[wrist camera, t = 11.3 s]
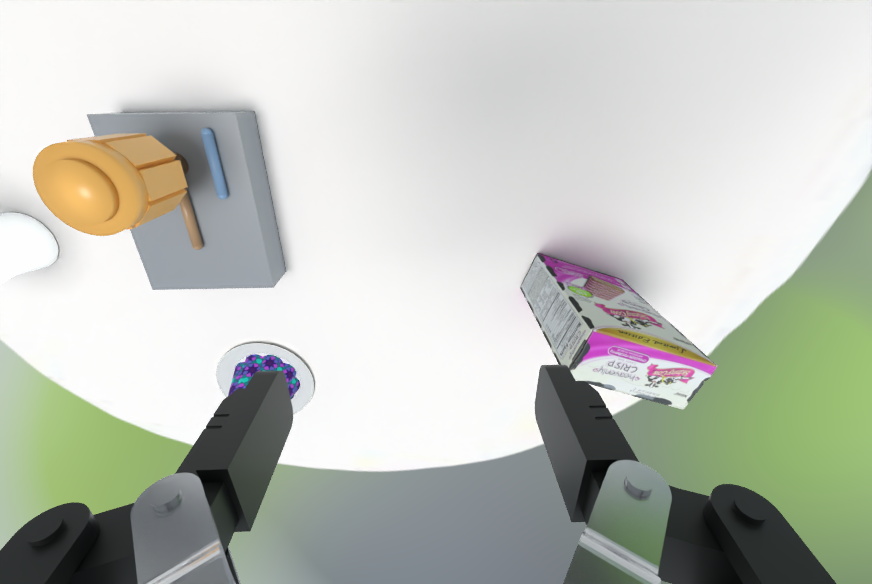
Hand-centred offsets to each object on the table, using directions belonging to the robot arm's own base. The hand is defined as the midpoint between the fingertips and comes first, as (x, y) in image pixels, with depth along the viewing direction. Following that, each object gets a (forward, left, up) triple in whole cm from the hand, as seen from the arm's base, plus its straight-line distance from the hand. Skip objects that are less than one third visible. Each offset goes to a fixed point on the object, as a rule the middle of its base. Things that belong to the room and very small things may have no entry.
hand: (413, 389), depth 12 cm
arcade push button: (-3, -21, -22) cm, 30 cm away
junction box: (+1, -21, -30) cm, 37 cm away
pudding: (+24, -20, -31) cm, 44 cm away
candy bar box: (+11, +17, -30) cm, 36 cm away
